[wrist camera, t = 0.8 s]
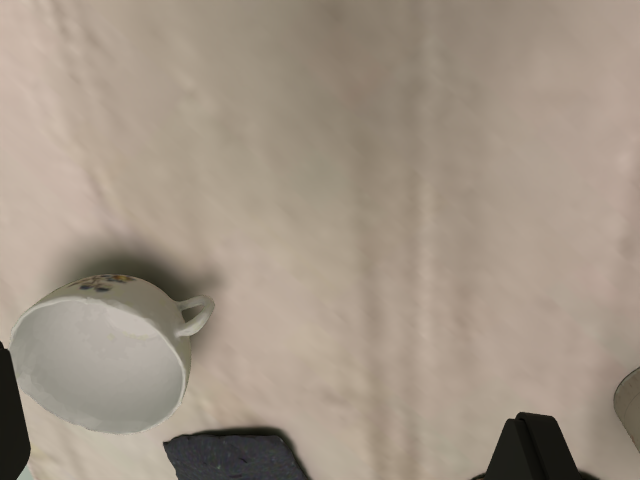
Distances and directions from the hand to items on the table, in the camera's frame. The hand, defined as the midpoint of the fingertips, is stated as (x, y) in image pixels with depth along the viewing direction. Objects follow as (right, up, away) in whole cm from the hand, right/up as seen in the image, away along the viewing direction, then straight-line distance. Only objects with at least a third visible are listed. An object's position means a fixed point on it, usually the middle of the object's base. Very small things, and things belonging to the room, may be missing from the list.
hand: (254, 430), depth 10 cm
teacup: (-13, -2, +33) cm, 36 cm away
